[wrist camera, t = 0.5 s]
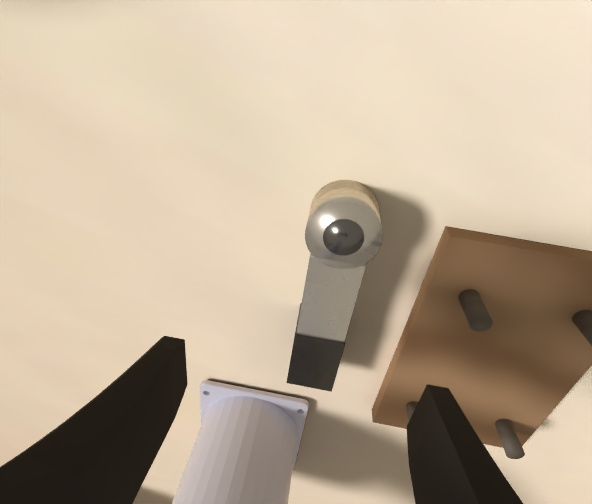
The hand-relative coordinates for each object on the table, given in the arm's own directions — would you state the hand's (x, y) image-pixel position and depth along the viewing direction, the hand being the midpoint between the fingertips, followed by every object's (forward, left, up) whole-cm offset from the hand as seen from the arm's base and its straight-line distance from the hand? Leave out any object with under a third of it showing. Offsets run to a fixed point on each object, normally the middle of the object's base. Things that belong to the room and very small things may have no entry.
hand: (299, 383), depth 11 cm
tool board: (-6, -11, -9) cm, 16 cm away
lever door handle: (-3, -1, -10) cm, 10 cm away
